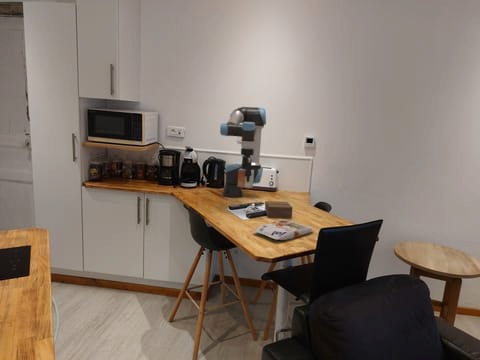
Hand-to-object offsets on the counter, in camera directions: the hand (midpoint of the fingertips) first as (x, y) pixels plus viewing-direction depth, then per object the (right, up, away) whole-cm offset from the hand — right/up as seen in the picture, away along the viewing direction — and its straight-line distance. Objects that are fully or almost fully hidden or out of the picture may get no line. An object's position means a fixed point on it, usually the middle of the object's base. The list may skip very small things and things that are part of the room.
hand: (245, 185), depth 218 cm
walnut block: (+20, -19, +2) cm, 27 cm away
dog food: (+19, -25, -32) cm, 45 cm away
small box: (0, -1, 0) cm, 1 cm away
